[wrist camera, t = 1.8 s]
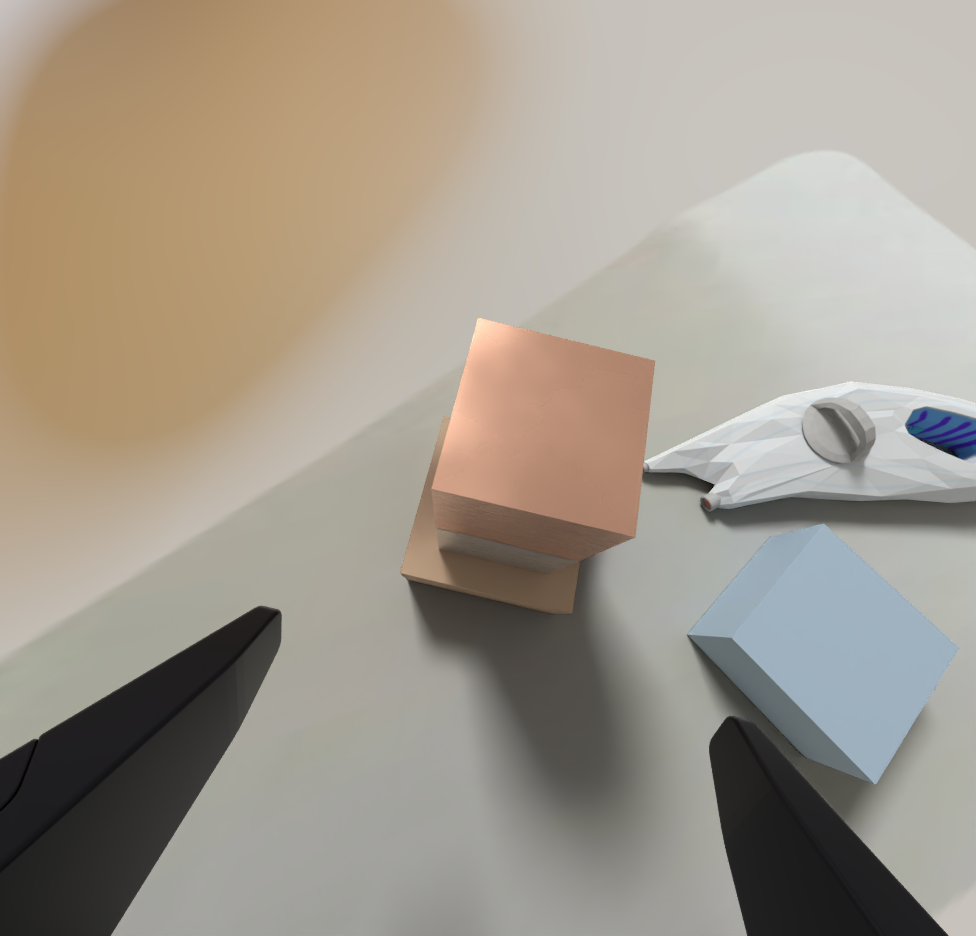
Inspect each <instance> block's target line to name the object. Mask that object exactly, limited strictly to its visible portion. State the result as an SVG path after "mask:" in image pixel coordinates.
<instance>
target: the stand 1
mask: <svg viewBox="0 0 976 936" xmlns="http://www.w3.org/2000/svg"><path fill="white" fill-rule="evenodd" d="M450 419H451V418H449V417H445V416H444V418H443V421H442V425H441V429H440V432H439V436H438V439H437V443H436V446H435V450H434V453H433V457H432V461H431V464H430V468H429V471H428V475H427V478H426V482H425V485H424V489H423V493H422V496H421V500H420V503H419V507H418V510H417V514H416V518H415V521H414V525H413V528H412V532H411V535H410V539H409V542H408V546H407V550H406V553H405V557H404V560H403V564H402V567H401V571H400V573H401V574H402V575H403V576H404V577H405V578H406V579H407V580H410V581H414V582H418V583H423V584H427V585H431V586H435V587H440V588H444V589H448V590H452V591H457V592H461V593H465V594H469V595H474V596H478V597H482V598H486V599H491V600H495V601H499V602H503V603H508V604H512V605H516V606H520V607H525V608H529V609H533V610H537V611H542V612H546V613H550V614H572V612H573V605H574V598H575V592H576V585H577V578H578V572H579V565H580V561H578V562H576V563H574V564H571V565H569V566H566V567H564V568H562V569H559V570H557V571H555V572H552V573H550V574H548V575H546V574H542V573H537V572H533V571H529V570H525V569H521V568H516V567H512V566H508V565H504V564H499V563H495V562H491V561H487V560H482V559H478V558H474V557H470V556H466V555H461V554H457V553H453V552H449V551H444V550H440V549H439V547H438V539H437V531H436V522H435V514H434V506H433V498H432V490H431V488H432V485H433V481H434V477H435V474H436V470H437V466H438V463H439V459H440V456H441V452H442V448H443V445H444V441H445V437H446V434H447V430H448V426H449V423H450Z"/></svg>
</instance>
